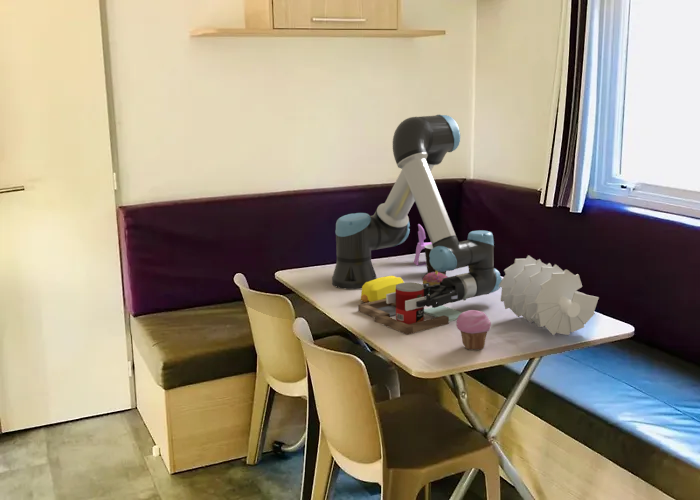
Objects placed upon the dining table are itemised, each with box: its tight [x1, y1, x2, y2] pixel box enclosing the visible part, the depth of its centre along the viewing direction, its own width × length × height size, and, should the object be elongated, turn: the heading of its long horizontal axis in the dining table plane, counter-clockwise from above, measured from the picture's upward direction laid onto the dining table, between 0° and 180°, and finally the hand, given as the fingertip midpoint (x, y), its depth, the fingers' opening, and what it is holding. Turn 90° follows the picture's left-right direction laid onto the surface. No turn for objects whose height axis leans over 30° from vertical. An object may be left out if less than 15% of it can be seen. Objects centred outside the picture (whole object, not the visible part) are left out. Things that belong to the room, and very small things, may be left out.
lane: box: [357, 299, 450, 336], centre depth 227 cm, size 26×15×2 cm, turn 34°
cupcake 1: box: [422, 271, 449, 295], centre depth 249 cm, size 9×8×12 cm
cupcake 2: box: [455, 309, 492, 351], centre depth 200 cm, size 9×9×10 cm
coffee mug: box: [424, 244, 447, 276], centre depth 272 cm, size 12×9×10 cm
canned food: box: [395, 281, 425, 324], centre depth 221 cm, size 8×8×11 cm
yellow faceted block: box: [360, 275, 405, 303], centre depth 246 cm, size 18×7×8 cm
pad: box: [424, 305, 464, 322], centre depth 229 cm, size 12×8×1 cm, turn 34°
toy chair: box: [413, 223, 432, 267], centre depth 288 cm, size 8×9×15 cm
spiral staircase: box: [499, 254, 600, 336], centre depth 215 cm, size 18×18×25 cm
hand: (396, 302), depth 218 cm, fingers closed on canned food, 8 cm apart
